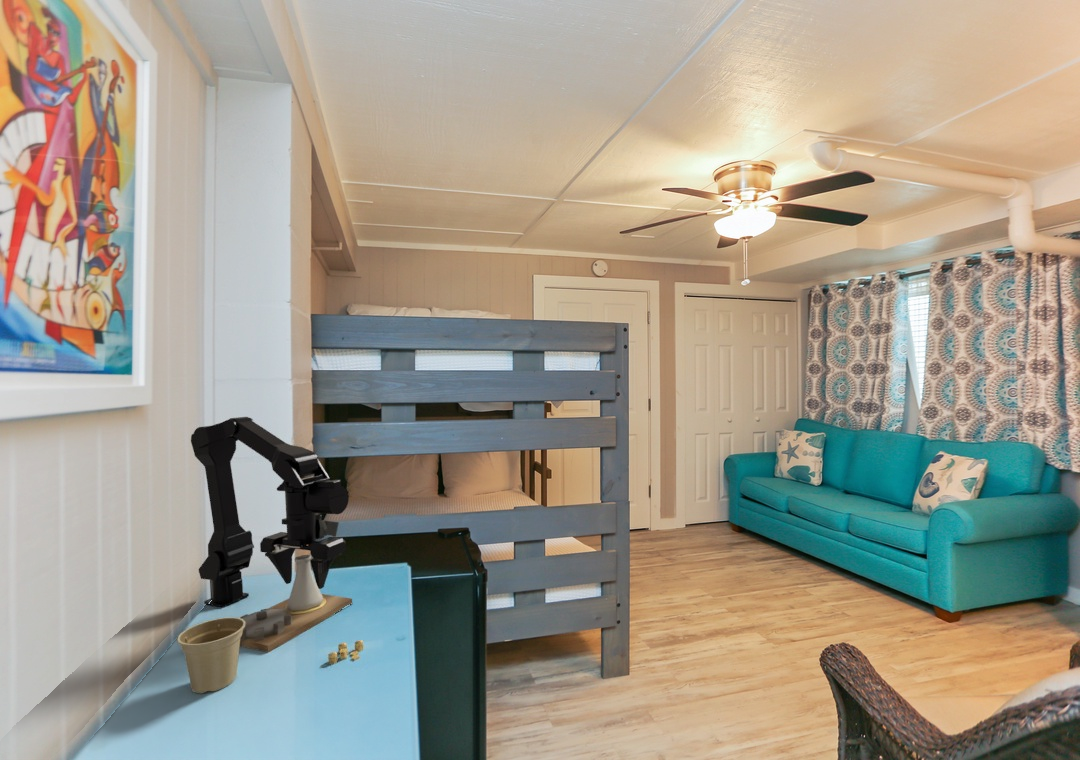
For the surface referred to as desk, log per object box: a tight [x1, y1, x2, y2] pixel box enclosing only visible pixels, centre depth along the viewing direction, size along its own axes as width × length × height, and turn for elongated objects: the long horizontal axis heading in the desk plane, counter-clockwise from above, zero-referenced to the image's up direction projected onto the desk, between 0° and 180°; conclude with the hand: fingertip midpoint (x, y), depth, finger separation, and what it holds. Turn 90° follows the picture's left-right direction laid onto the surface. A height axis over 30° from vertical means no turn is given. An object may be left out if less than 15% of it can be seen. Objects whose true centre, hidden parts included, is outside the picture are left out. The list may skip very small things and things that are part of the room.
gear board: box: [239, 593, 353, 653], centre depth 108 cm, size 14×22×4 cm, turn 157°
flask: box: [286, 554, 324, 611], centre depth 112 cm, size 7×7×10 cm
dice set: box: [327, 639, 364, 665], centre depth 93 cm, size 5×5×2 cm
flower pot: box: [176, 616, 245, 694], centre depth 86 cm, size 9×9×9 cm
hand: (304, 585), depth 112 cm, fingers open, 9 cm apart
